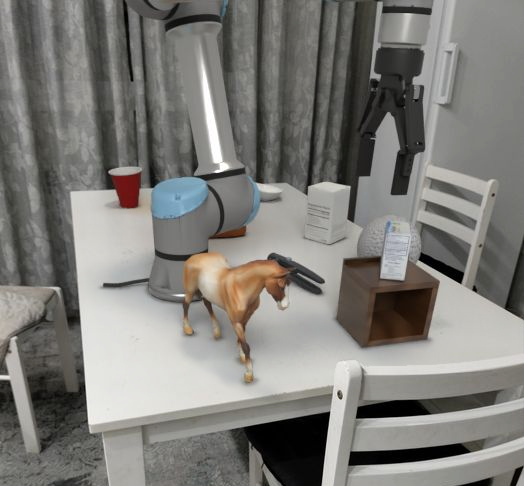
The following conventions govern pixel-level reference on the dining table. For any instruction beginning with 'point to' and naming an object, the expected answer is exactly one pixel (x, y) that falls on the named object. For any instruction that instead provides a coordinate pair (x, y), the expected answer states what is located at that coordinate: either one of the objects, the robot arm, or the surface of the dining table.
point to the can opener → (299, 269)
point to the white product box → (327, 212)
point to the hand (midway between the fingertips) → (379, 185)
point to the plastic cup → (127, 185)
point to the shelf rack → (385, 303)
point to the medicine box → (395, 250)
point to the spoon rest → (268, 192)
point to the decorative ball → (374, 237)
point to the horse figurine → (233, 292)
